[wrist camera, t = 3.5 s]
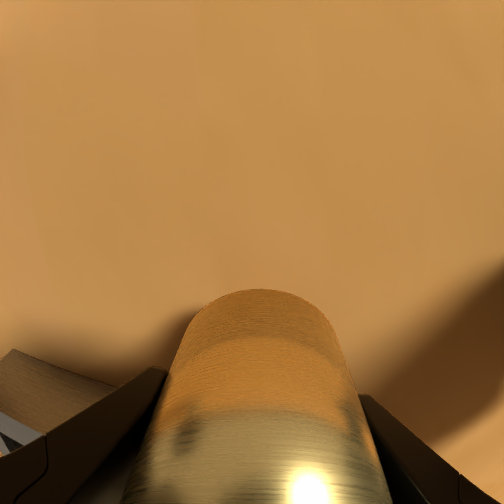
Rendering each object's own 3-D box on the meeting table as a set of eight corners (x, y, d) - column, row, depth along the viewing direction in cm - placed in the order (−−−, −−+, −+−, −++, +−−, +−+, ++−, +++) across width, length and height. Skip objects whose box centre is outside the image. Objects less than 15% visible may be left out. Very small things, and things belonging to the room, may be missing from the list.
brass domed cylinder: (358, 302, 8) (464, 505, 2) (314, 419, 9) (337, 586, 3) (187, 275, 8) (72, 489, 2) (178, 401, 9) (129, 570, 3)
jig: (330, 422, 12) (345, 492, 9) (280, 510, 15) (281, 559, 12) (12, 348, 12) (-31, 392, 8) (53, 457, 15) (31, 495, 11)
